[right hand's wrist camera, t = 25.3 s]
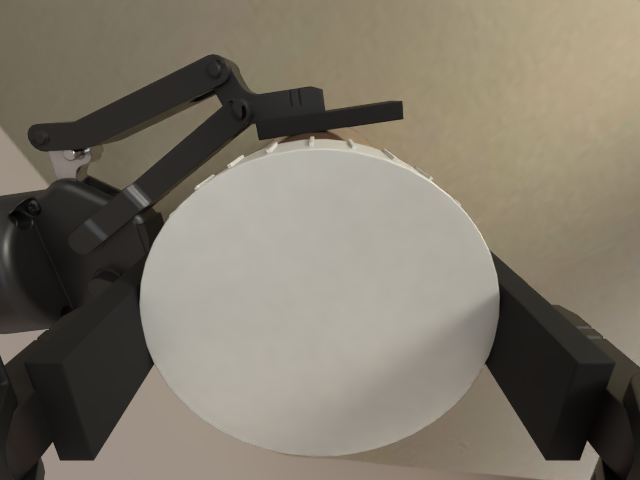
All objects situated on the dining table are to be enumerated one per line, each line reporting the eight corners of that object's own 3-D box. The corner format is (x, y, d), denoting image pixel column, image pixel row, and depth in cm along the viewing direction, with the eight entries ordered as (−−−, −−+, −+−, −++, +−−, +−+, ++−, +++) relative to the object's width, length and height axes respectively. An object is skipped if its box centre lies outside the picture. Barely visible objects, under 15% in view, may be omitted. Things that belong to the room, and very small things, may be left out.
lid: (336, 445, 15) (338, 499, 13) (112, 308, 13) (71, 349, 10) (535, 274, 12) (579, 310, 10) (293, 55, 10) (286, 43, 8)
